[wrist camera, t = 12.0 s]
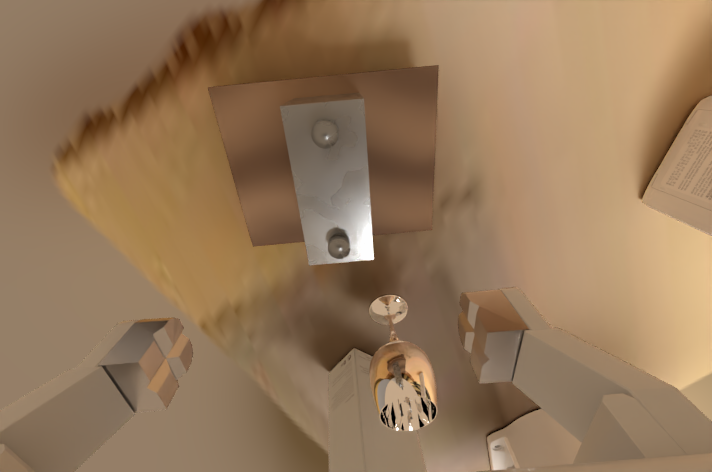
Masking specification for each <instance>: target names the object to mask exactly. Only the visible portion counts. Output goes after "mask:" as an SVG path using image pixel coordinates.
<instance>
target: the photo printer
mask: <svg viewBox="0 0 712 472" xmlns="http://www.w3.org/2000/svg"><path fill="white" fill-rule="evenodd" d="M642 202H643V203H644V204H646V205H647V206H648V207H650V208H652V209H655V210H657V211H659V212H661V213H663V214H665V215H667V216H670V217H672V218H674V219H676V220H678V221H680V222H683V223H685V224H687V225H689V226H691V227H693V228H695V229H698V230H700V231H702V232H704V233H706V234H708V235H711V236H712V95H711V96H708V97H706V98H704V99H702V100H701V101H700V102H699V103H698V104H697V106H696V107H695V108H694V110H693V111H692V112H691V114H690V115H689V117H688V119H687V120H686V122H685V124H684V125H683V127H682V129H681V130H680V132H679V134H678V135H677V137H676V139H675V140H674V142H673V144H672V145H671V147H670V149H669V151H668V152H667V154H666V156H665V157H664V159H663V161H662V163H661V164H660V166H659V168H658V169H657V171H656V173H655V174H654V176H653V178H652V180H651V182H650V183H649V185H648V187H647V189H646V191H645V193H644V196H643V198H642Z"/></svg>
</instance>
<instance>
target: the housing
mask: <svg viewBox="0 0 712 472" xmlns="http://www.w3.org/2000/svg"><path fill="white" fill-rule="evenodd" d="M280 110H281V116H282V121H283V126H284V132H285V137H286V143H287V148H288V153H289V159H290V164H291V170H292V175H293V180H294V186H295V191H296V197H297V202H298V207H299V213H300V218H301V224H302V229H303V234H304V240H305V245H306V251H307V256H308V261H309V265H320V264H331V263H342V262H353V261H365V260H374V252H373V236H372V220H371V204H370V188H369V171H368V155H367V139H366V123H365V107H364V98H363V97H362V95H361V94H360V93H348V94H337V95H326V96H316V97H305V98H294V99H292V100H290V101H288V102H286V103H285V104H283V105H281V106H280Z"/></svg>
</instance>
